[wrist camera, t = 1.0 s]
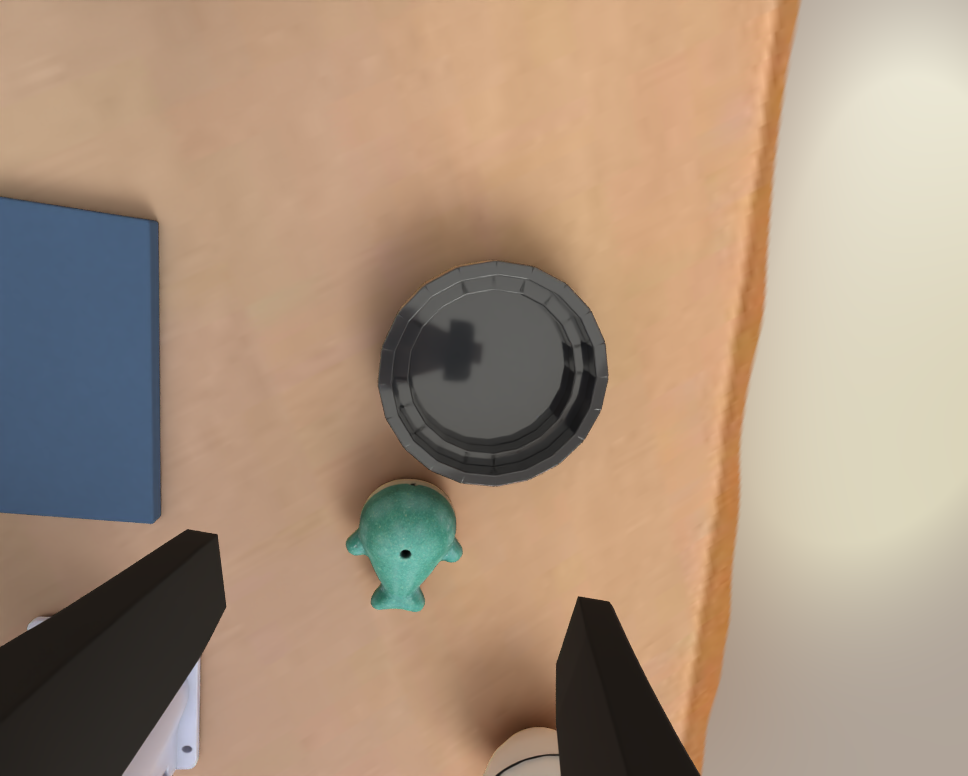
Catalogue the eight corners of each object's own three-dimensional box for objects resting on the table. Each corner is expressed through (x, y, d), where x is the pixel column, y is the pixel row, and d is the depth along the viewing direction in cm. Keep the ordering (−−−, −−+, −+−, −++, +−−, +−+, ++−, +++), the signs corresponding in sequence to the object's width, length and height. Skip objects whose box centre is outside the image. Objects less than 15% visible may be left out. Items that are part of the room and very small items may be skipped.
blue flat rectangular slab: (161, 516, 24) (153, 524, 24) (2, 504, 23) (-12, 512, 23) (159, 221, 21) (149, 220, 20) (-28, 192, 20) (-46, 189, 19)
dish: (568, 473, 26) (582, 495, 24) (373, 453, 25) (367, 475, 22) (609, 278, 24) (630, 281, 21) (395, 244, 22) (391, 243, 20)
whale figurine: (472, 478, 26) (479, 515, 22) (449, 598, 27) (452, 651, 24) (358, 464, 25) (346, 500, 21) (341, 589, 27) (328, 643, 23)
